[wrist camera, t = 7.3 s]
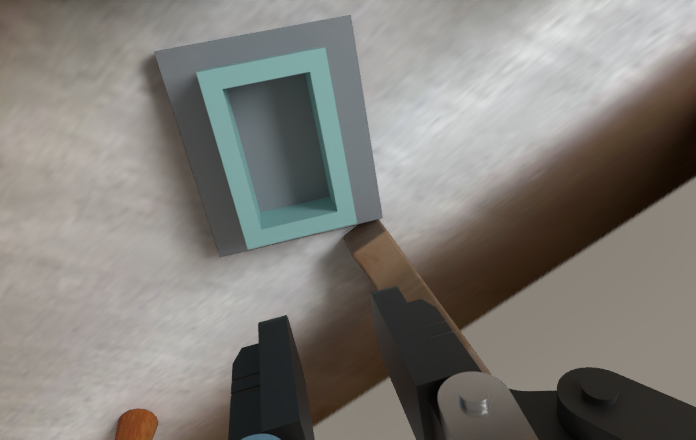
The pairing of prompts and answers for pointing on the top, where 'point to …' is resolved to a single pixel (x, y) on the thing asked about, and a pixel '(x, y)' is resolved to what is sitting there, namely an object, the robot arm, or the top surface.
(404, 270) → the wooden block
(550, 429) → the robot arm
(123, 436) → the kendama
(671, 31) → the top surface
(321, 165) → the cradle jig
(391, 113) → the top surface
